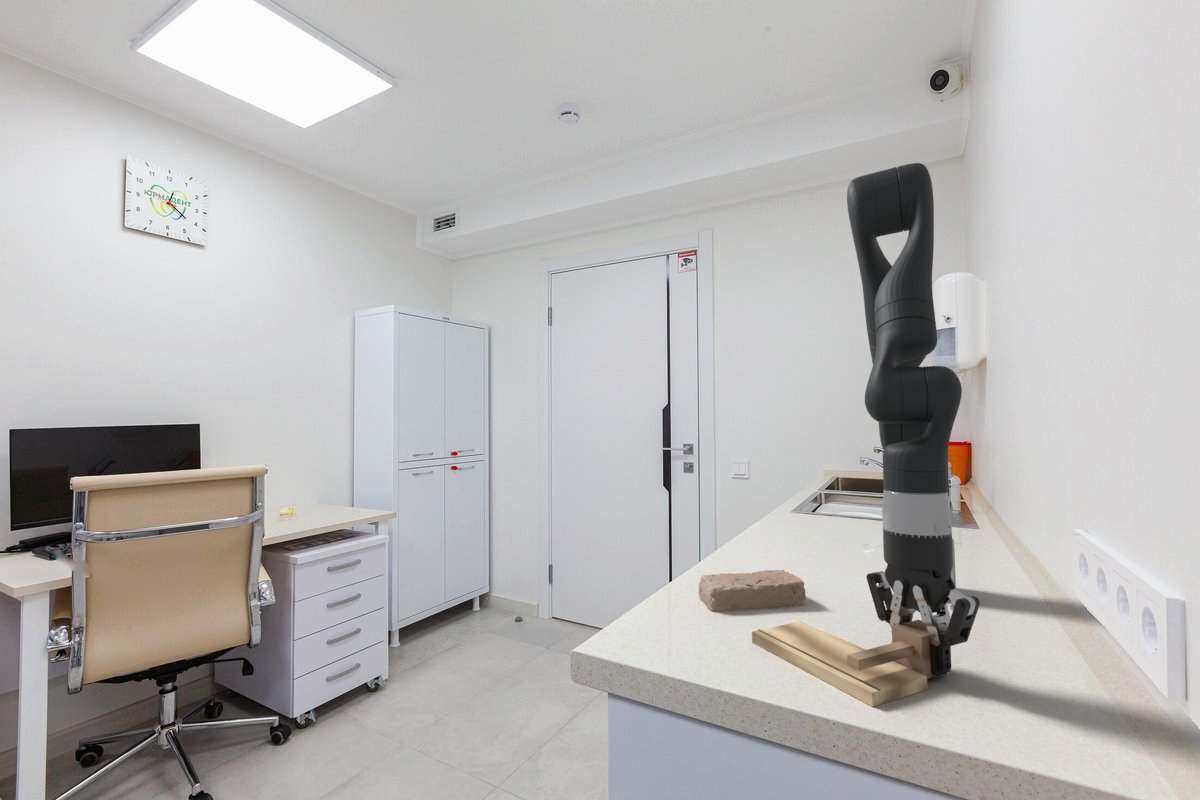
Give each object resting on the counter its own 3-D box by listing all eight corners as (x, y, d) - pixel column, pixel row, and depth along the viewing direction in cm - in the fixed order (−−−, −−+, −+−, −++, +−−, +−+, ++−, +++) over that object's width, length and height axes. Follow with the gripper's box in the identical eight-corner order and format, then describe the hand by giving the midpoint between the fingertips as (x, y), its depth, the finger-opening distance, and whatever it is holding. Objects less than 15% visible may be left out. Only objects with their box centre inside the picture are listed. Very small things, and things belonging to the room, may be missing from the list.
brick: (711, 614, 93) (711, 585, 93) (697, 598, 101) (696, 571, 101) (807, 609, 95) (807, 581, 95) (785, 594, 103) (785, 568, 103)
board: (800, 631, 84) (800, 620, 84) (927, 689, 66) (927, 675, 66) (752, 642, 80) (751, 630, 80) (872, 706, 62) (871, 692, 62)
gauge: (925, 657, 73) (923, 618, 73) (955, 669, 69) (954, 628, 69) (840, 681, 67) (838, 639, 67) (868, 696, 63) (867, 651, 63)
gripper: (995, 534, 65) (1001, 685, 65) (887, 516, 78) (891, 641, 78) (952, 541, 62) (958, 699, 62) (847, 520, 75) (852, 651, 75)
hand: (921, 666), depth 70 cm, fingers closed on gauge, 4 cm apart
